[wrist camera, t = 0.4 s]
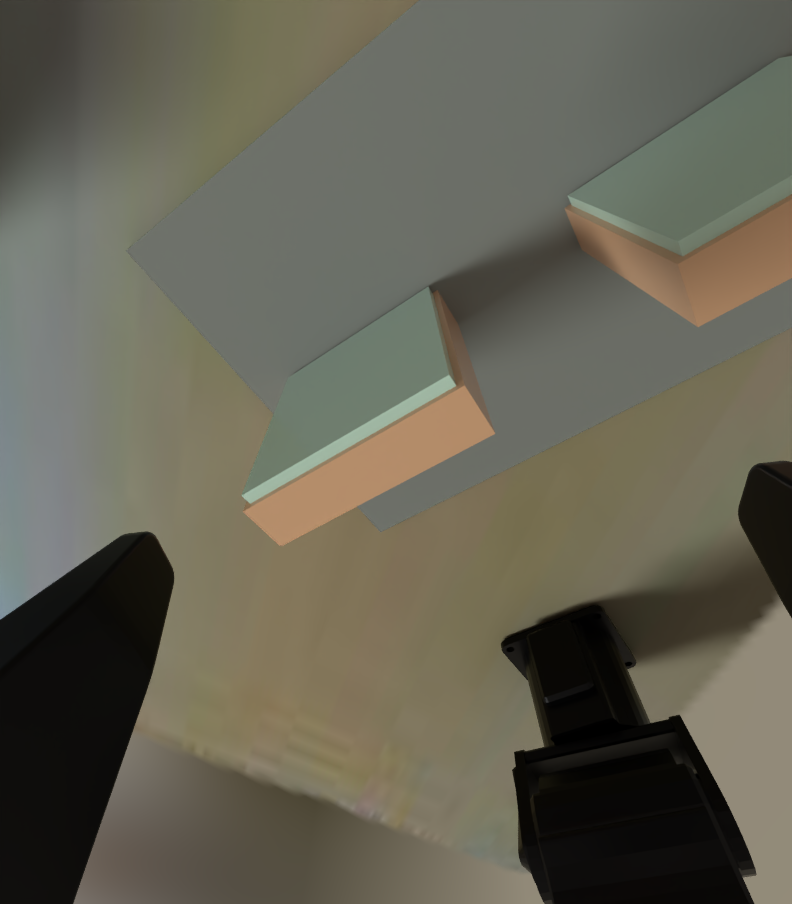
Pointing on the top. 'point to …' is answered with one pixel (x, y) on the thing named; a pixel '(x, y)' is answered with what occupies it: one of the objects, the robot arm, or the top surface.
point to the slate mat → (470, 213)
